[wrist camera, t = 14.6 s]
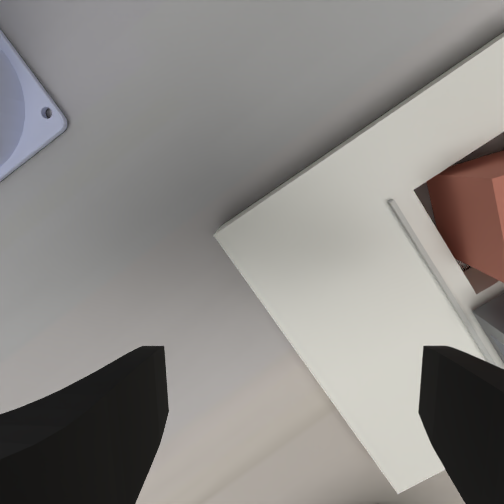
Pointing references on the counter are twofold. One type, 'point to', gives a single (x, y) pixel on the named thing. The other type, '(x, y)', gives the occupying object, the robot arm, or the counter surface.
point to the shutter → (493, 322)
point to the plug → (472, 212)
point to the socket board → (378, 261)
